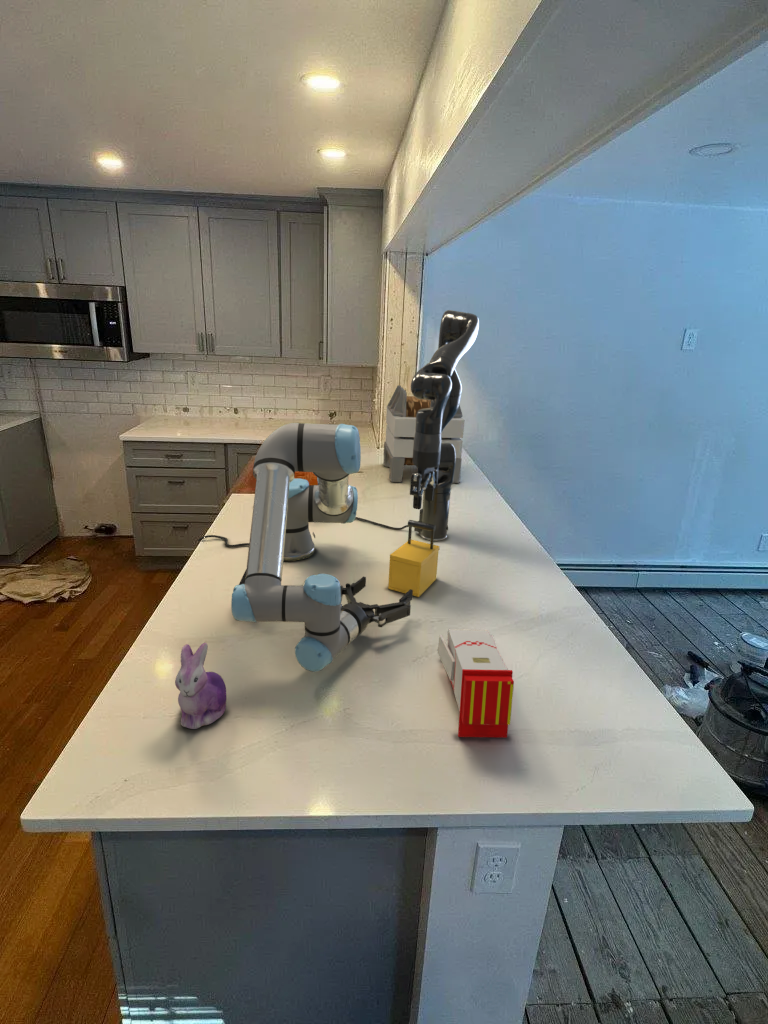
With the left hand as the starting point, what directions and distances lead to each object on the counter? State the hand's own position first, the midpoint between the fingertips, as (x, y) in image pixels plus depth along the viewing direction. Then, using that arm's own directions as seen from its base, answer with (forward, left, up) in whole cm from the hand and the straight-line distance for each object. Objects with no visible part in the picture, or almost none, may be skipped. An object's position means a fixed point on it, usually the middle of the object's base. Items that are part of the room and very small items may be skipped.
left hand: (387, 587), depth 147 cm
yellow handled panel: (0, +17, +3) cm, 17 cm away
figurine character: (-31, -17, -6) cm, 36 cm away
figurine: (-12, -54, -6) cm, 56 cm away
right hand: (0, +21, +17) cm, 27 cm away
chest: (0, +17, -6) cm, 18 cm away
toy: (+30, -22, -6) cm, 38 cm away
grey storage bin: (-45, +126, -6) cm, 134 cm away
